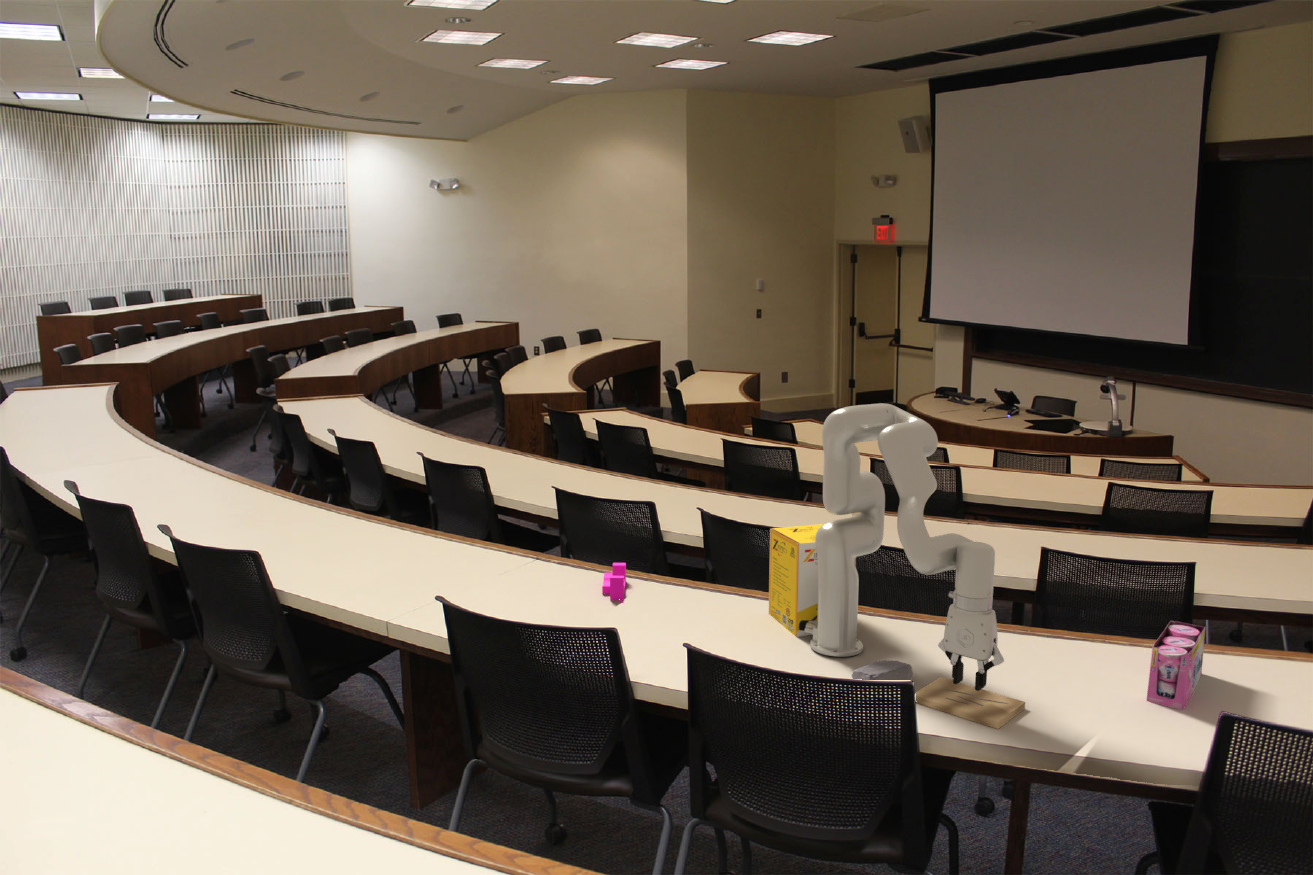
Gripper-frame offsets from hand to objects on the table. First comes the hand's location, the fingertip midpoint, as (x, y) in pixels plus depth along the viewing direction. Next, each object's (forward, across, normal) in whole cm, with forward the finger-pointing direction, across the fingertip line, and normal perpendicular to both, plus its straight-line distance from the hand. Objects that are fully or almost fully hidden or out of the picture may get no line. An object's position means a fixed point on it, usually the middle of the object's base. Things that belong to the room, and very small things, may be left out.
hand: (968, 684), depth 202 cm
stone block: (+2, -24, -1) cm, 24 cm away
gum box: (+5, +30, +37) cm, 48 cm away
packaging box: (+5, -51, +17) cm, 54 cm away
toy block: (+5, -107, 0) cm, 108 cm away
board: (+5, 0, 0) cm, 5 cm away
